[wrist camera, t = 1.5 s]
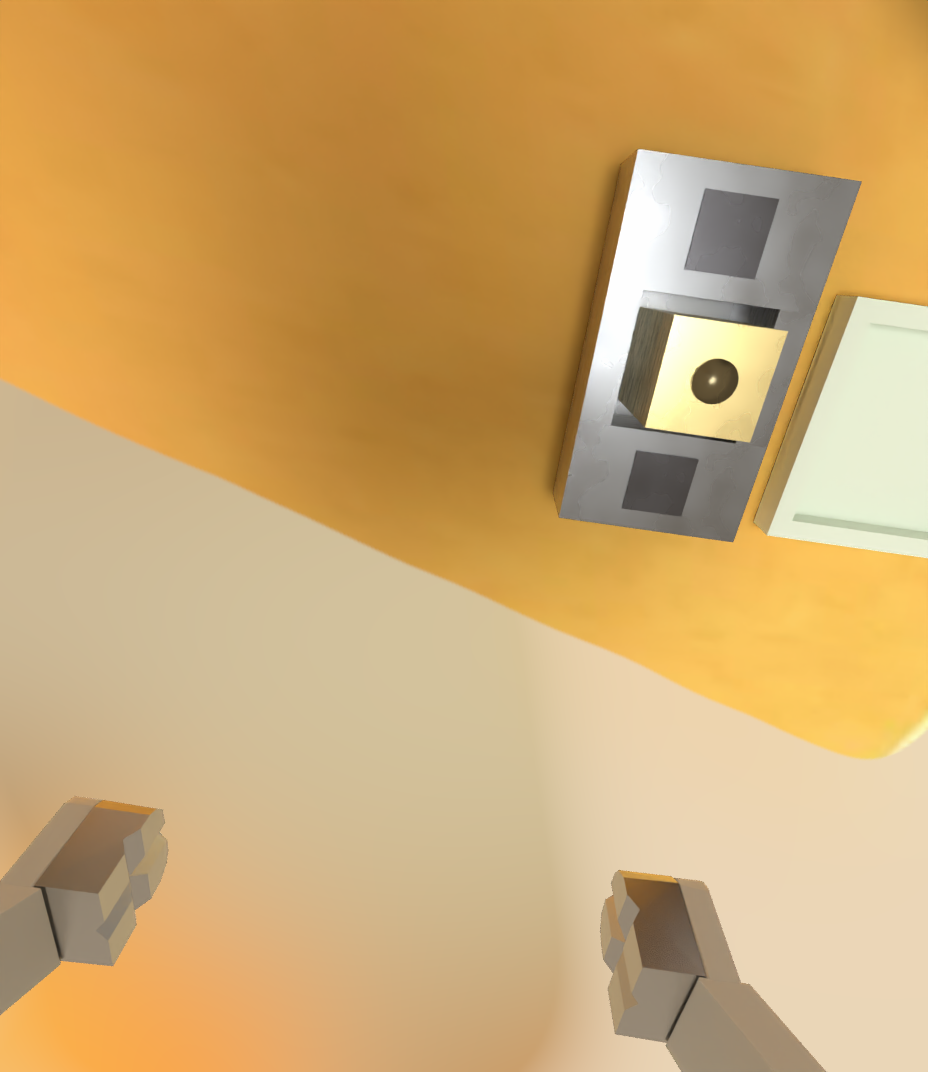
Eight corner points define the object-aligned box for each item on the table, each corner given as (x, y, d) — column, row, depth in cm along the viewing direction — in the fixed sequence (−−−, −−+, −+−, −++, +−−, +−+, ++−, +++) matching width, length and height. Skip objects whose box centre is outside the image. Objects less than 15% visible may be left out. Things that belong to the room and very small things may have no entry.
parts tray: (836, 295, 28) (858, 296, 27) (1081, 330, 28) (1118, 334, 27) (753, 521, 33) (767, 535, 31) (961, 551, 33) (986, 566, 32)
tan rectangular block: (640, 306, 28) (676, 315, 23) (732, 320, 28) (790, 331, 23) (618, 399, 30) (646, 428, 25) (704, 412, 30) (751, 443, 25)
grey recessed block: (620, 164, 26) (638, 148, 23) (816, 192, 27) (863, 181, 23) (552, 493, 33) (559, 518, 30) (709, 515, 33) (733, 543, 30)
